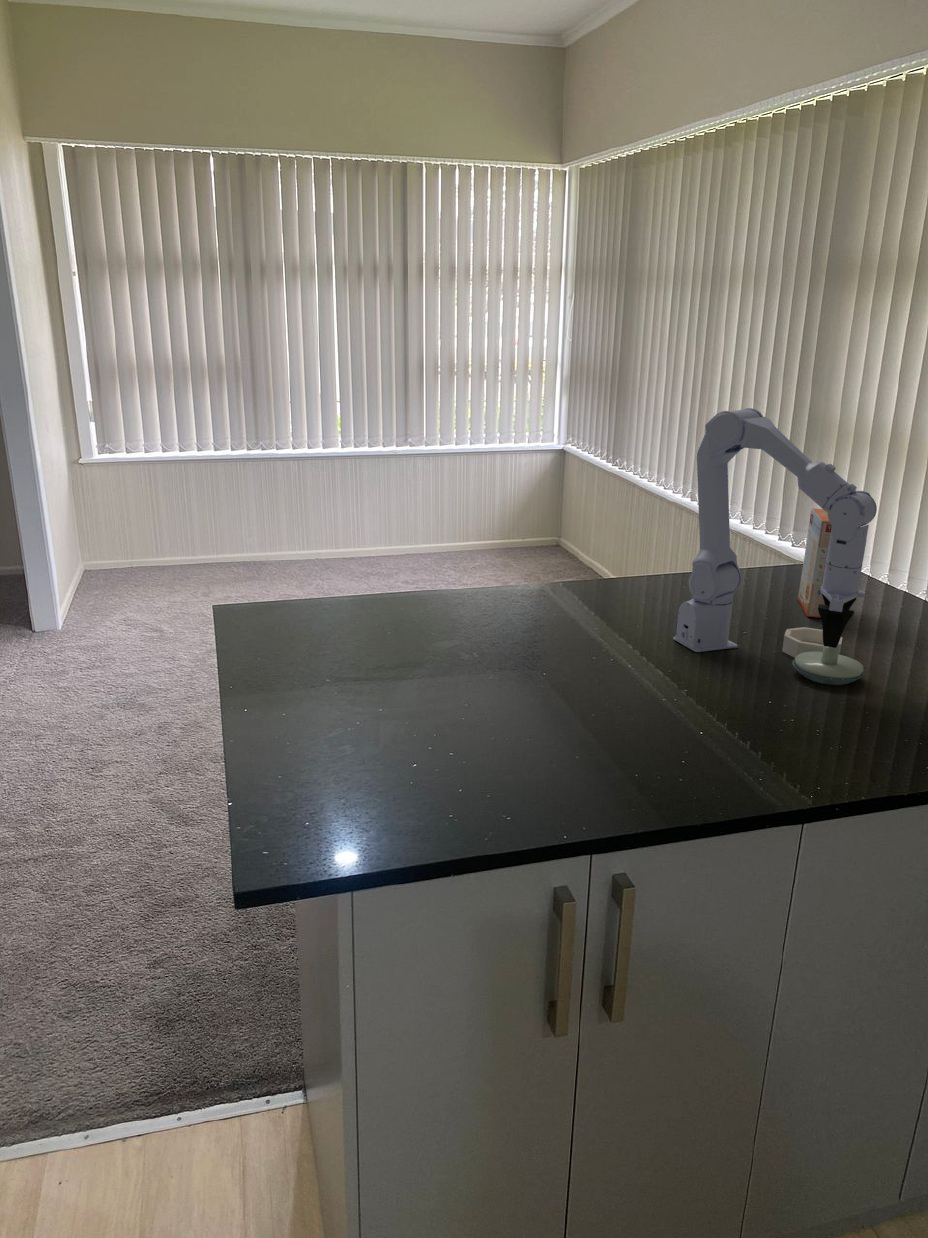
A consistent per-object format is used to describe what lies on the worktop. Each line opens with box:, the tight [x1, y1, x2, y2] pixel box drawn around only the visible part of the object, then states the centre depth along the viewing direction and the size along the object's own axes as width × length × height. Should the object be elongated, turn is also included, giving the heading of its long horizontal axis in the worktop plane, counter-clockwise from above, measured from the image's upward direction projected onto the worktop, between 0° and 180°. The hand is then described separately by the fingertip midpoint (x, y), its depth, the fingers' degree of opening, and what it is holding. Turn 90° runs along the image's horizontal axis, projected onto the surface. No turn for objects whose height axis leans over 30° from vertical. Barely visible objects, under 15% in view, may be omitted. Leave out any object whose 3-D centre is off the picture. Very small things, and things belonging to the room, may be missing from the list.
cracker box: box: [797, 508, 832, 619], centre depth 200 cm, size 14×6×21 cm, turn 168°
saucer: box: [791, 658, 865, 686], centre depth 165 cm, size 12×12×2 cm
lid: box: [794, 646, 864, 679], centre depth 164 cm, size 11×11×4 cm
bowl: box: [781, 626, 843, 659], centre depth 177 cm, size 10×10×3 cm
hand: (831, 639), depth 163 cm, fingers open, 7 cm apart
